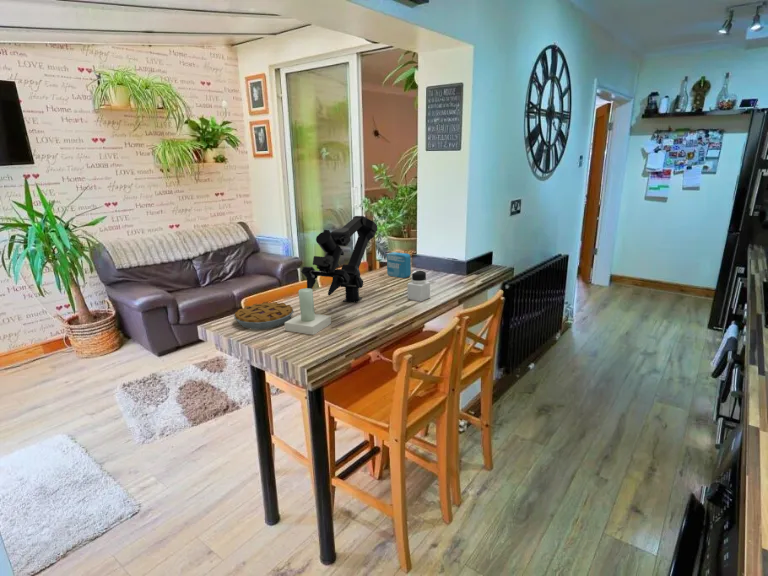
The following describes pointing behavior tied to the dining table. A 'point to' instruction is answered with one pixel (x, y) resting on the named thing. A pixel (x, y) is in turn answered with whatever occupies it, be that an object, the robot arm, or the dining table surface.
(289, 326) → the stand
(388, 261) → the data package
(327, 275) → the robot arm
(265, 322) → the pie
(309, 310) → the ball
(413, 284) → the medicine bottle
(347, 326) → the dining table surface
